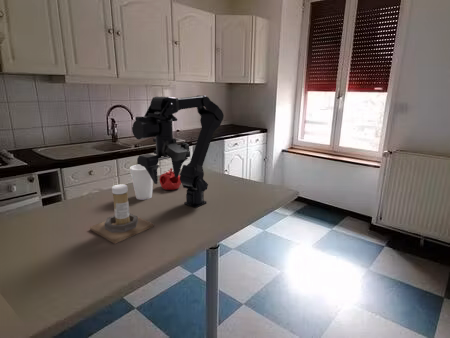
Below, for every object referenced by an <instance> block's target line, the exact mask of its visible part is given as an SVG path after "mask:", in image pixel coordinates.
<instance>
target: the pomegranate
mask: <svg viewBox="0 0 450 338" xmlns="http://www.w3.org/2000/svg"><path fill="white" fill-rule="evenodd" d="M159 184H160V186H161V188H162V189H164V190H166V191H167V190H171V191H172V190H173V191H174V190H178V189H179V188H180V187H181V185H182V183H181V181H180V174H179V175H178V178H176V177H175V175H174V171H173V167H171V168H169V169H168V170H167V171H165V172H163V173H162V174H161V175H159Z"/></svg>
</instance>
